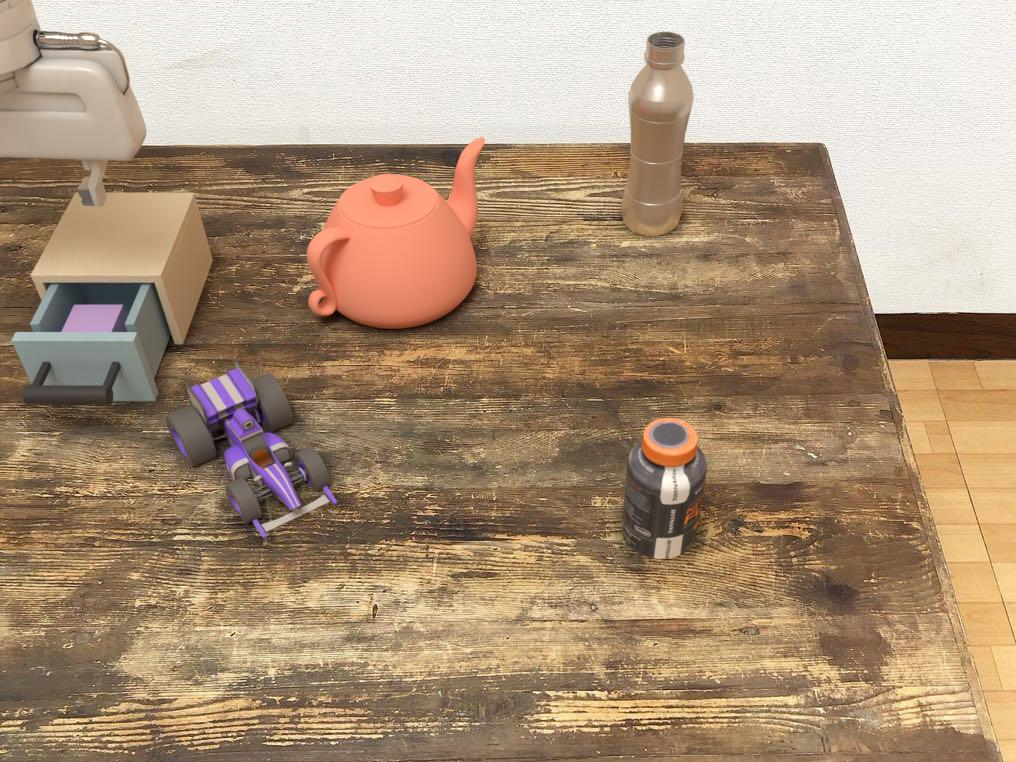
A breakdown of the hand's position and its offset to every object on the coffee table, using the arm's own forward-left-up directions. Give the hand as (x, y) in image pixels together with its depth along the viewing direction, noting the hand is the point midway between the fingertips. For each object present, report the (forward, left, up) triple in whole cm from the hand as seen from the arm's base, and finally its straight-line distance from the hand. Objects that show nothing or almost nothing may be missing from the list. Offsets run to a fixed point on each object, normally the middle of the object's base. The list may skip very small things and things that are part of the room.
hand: (38, 201), depth 88 cm
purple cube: (+2, -2, -15) cm, 15 cm away
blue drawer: (+2, -3, -16) cm, 16 cm away
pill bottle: (+51, -22, -17) cm, 58 cm away
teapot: (+28, +11, -17) cm, 34 cm away
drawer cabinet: (+2, +8, -17) cm, 18 cm away
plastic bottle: (+53, +22, -17) cm, 60 cm away
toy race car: (+18, -15, -17) cm, 29 cm away
